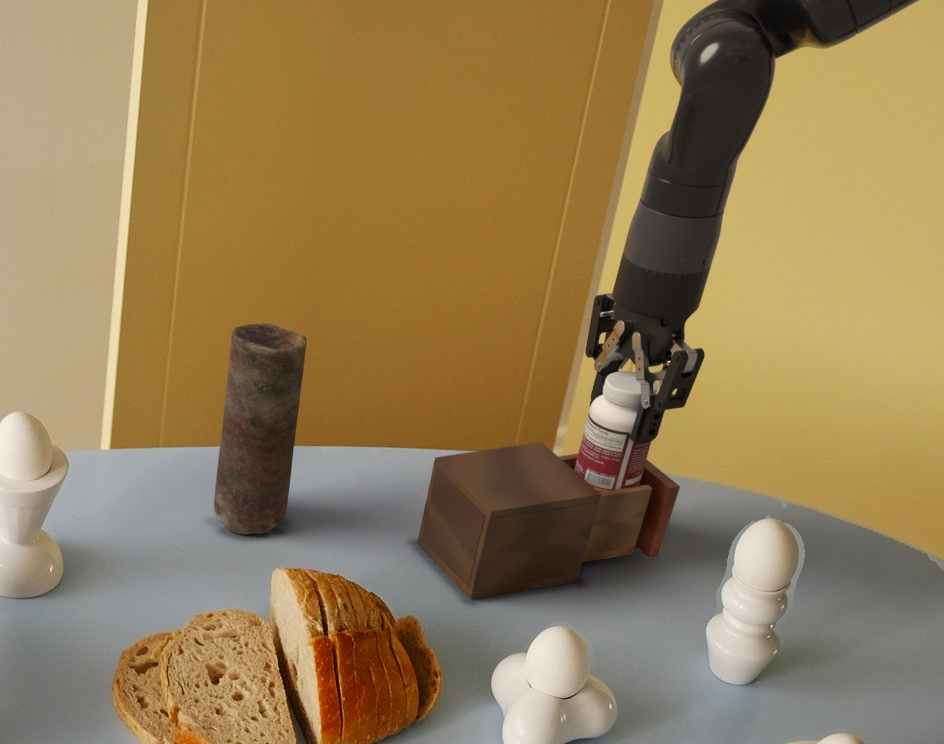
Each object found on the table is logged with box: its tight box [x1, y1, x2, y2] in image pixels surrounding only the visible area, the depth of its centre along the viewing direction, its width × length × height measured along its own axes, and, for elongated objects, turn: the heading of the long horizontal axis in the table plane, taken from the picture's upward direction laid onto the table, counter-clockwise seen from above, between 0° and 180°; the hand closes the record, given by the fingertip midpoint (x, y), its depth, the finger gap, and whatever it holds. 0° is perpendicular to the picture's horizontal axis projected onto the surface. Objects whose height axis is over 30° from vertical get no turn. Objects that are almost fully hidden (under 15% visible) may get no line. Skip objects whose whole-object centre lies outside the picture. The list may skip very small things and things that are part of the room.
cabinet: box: [416, 441, 601, 600], centre depth 169 cm, size 12×11×10 cm
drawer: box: [557, 453, 681, 563], centre depth 172 cm, size 12×9×8 cm
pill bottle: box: [574, 370, 659, 492], centre depth 167 cm, size 6×6×11 cm
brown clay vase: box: [213, 322, 307, 535], centre depth 172 cm, size 8×7×20 cm
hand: (620, 424), depth 166 cm, fingers closed on pill bottle, 6 cm apart
